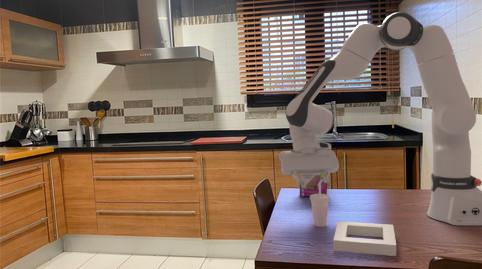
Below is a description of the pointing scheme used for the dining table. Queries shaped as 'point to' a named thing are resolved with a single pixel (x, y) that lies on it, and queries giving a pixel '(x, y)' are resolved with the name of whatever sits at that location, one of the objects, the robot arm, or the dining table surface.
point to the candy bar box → (312, 184)
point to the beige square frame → (362, 244)
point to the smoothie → (319, 207)
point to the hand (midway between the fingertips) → (313, 182)
